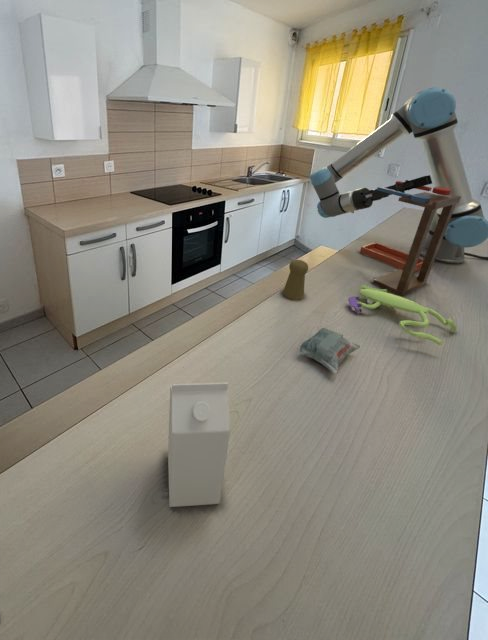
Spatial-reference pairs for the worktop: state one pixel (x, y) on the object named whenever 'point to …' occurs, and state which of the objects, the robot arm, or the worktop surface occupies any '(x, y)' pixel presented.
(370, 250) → the tray
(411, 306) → the figurine
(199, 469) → the milk carton
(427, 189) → the red spoon
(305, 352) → the packaged food
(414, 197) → the blue spoon
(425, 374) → the worktop surface
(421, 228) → the slanted wooden stand
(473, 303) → the worktop surface
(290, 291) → the cork
